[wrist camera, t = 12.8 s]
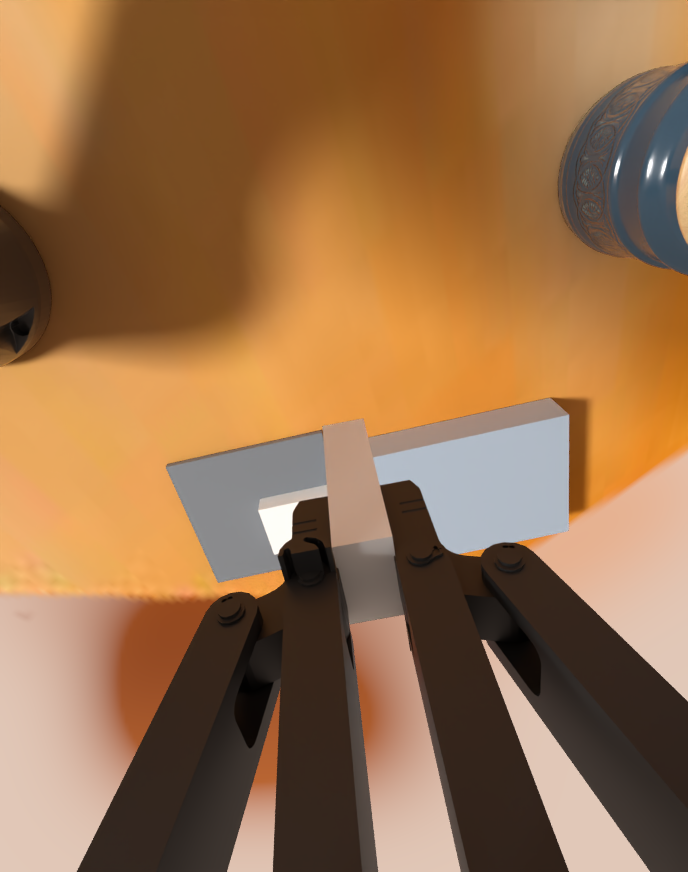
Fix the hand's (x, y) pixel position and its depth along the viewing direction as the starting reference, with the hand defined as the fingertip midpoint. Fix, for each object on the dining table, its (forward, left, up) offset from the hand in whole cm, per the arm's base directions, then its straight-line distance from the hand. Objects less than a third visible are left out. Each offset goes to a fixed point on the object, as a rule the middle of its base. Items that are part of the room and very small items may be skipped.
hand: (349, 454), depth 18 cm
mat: (-11, -21, -28) cm, 37 cm away
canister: (+27, +4, -29) cm, 39 cm away
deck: (+9, -22, -28) cm, 37 cm away
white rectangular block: (-7, -22, -28) cm, 36 cm away
